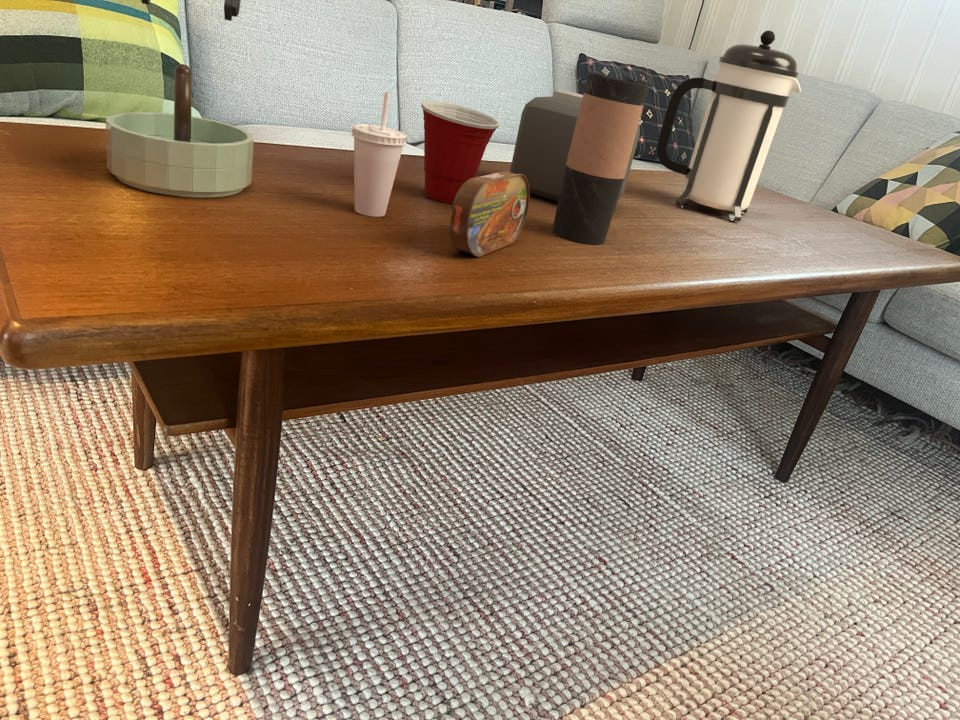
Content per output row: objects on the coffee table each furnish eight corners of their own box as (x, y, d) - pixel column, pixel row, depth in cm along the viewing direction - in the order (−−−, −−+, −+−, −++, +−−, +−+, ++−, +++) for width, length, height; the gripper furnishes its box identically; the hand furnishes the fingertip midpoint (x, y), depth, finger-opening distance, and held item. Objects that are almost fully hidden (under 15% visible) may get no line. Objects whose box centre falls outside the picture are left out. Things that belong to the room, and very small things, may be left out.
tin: (463, 263, 77) (478, 184, 74) (438, 254, 78) (451, 176, 75) (523, 240, 90) (539, 172, 86) (501, 233, 91) (515, 165, 87)
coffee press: (720, 202, 140) (776, 35, 128) (769, 227, 127) (837, 43, 114) (641, 191, 135) (691, 15, 122) (684, 216, 121) (745, 21, 109)
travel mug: (581, 247, 92) (625, 81, 84) (538, 227, 97) (575, 68, 88) (618, 243, 97) (662, 86, 89) (575, 225, 102) (613, 74, 93)
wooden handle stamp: (147, 173, 82) (147, 60, 77) (166, 163, 87) (166, 57, 82) (198, 182, 83) (200, 71, 78) (214, 172, 88) (217, 67, 83)
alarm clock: (619, 208, 118) (646, 108, 111) (597, 218, 108) (625, 110, 102) (529, 181, 123) (550, 85, 117) (500, 188, 114) (521, 84, 107)
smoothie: (358, 220, 84) (373, 94, 78) (334, 203, 88) (346, 83, 82) (406, 220, 88) (423, 99, 82) (380, 204, 92) (395, 88, 86)
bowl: (82, 181, 78) (79, 124, 75) (141, 155, 91) (140, 106, 89) (228, 208, 79) (230, 152, 76) (264, 178, 93) (267, 130, 90)
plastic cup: (452, 213, 95) (468, 119, 90) (391, 190, 100) (404, 99, 95) (499, 206, 103) (517, 119, 98) (441, 185, 108) (455, 101, 103)
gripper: (133, -151, 79) (108, -36, 74) (268, -119, 83) (254, -6, 78) (144, -91, 86) (122, 19, 81) (269, -63, 90) (255, 44, 84)
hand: (186, 6), depth 79 cm, fingers open, 8 cm apart
